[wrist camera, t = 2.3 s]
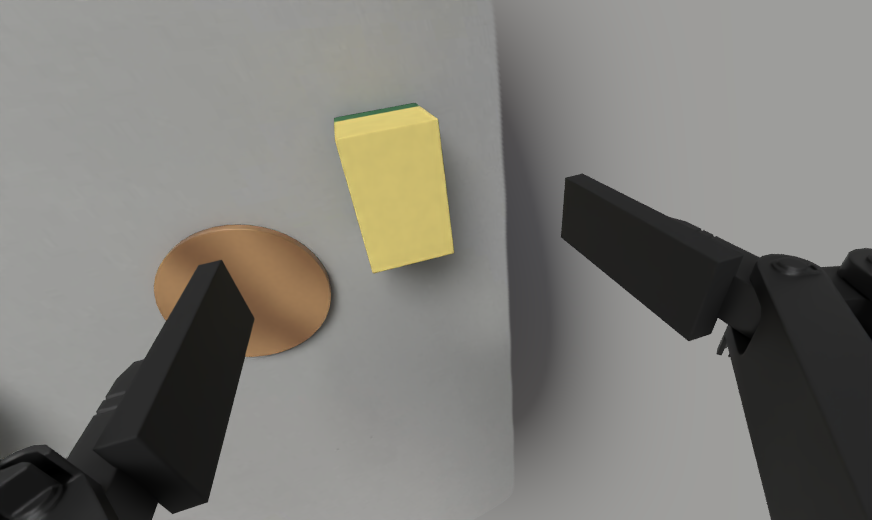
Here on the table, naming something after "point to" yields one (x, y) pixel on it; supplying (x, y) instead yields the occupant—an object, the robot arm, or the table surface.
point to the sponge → (396, 184)
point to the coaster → (255, 281)
